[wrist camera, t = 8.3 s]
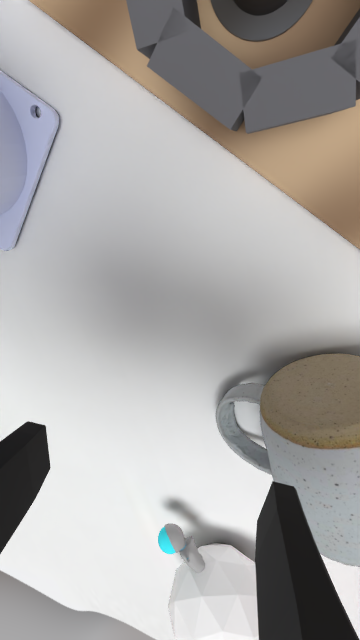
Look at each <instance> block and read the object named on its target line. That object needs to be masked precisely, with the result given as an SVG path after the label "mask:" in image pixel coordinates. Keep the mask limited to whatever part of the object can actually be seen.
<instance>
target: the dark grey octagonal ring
mask: <svg viewBox="0 0 360 640" xmlns="http://www.w3.org/2000/svg"><path fill="white" fill-rule="evenodd" d="M126 2H127V7H128V11H129V16H130V21H131V25H132V30H133V34H134V39H135V44H136V48H137V50H138V51H139V52H141V53H142V54H143V55H145V56H146V57H148V58H149V59H150V60H149V62H148V64H147V67H148V68H150V69H151V70H152V71H154V72H155V73H156V74H157V75H159V76H160V77H161V78H163V79H164V80H165V81H167V82H168V83H169V84H171V85H172V86H173V87H175V88H176V89H177V90H179V91H180V92H181V93H182V94H184V95H185V96H186V97H188V98H189V99H190V100H192V101H193V102H194V103H196V104H197V105H198V106H200V107H201V108H202V109H204V110H205V111H206V112H207V113H209V114H210V115H211V116H213V117H214V118H215V119H217V120H218V121H219V122H221V123H222V124H223V125H225V126H226V127H227V128H229V129H230V130H233V131H237V130H238V129H239V127H240V126H241V124H242V122H243V121H244V120H245V129H246V133H247V134H250V133H254V132H259V131H263V130H267V129H271V128H275V127H279V126H283V125H287V124H292V123H296V122H300V121H304V120H308V119H312V118H316V117H320V116H324V115H329V114H332V113H335V112H338V111H342V110H345V109H348V108H351V107H355V106H356V100H359V99H360V9H359V10H358V12H357V13H356V14H355V16H354V17H353V19H352V20H351V22H350V23H349V25H348V26H347V27H346V29H345V30H344V32H343V33H342V35H341V36H340V38H339V39H338V40H337V42H336V43H335V45H334V46H331V47H328V48H324V49H321V50H317V51H314V52H311V53H307V54H304V55H300V56H297V57H293V58H290V59H287V60H283V61H280V62H276V63H273V64H269V65H266V66H263V67H259V68H256V69H251V68H250V67H248V66H247V65H246V64H245V63H243V62H242V61H241V60H240V59H238V58H237V57H236V56H234V55H233V54H232V53H231V52H229V51H228V50H227V49H226V48H224V47H223V46H222V45H221V44H219V43H218V42H217V41H216V40H214V39H213V38H212V37H210V36H209V35H208V34H207V33H205V32H204V31H203V30H202V29H201V25H200V18H199V11H198V4H197V0H126Z"/></svg>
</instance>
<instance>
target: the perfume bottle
mask: <svg viewBox="0 0 360 640" xmlns="http://www.w3.org/2000/svg"><path fill="white" fill-rule="evenodd" d="M158 543H159V546H160V548H161V550H162V551H163V552H165V553H167V554H173V553H177V552H180V555H181V557H182V559H183V560H184V562H183V563H182V564H181V565H180V566H179V567H178V568H177V569H176V572H175V577H174V581H173V586H172V590H171V595H170V600H169V604H168V609H169V614H170V618H171V623H172V628H173V632H174V637H175V638H176V640H259V634H258V612H257V591H256V567H255V562H253V561H252V560H251V559H249V558H248V557H246V556H245V555H244V554H242V553H241V552H240V551H238V550H237V549H236V548H234V547H233V546H231V545H226V544H218V543H213V544H209V545H205V546H201V547H199V548H198V549H197V547H196V544H195V541H194V538H193V536H190V537H188V538H187V539H186V538H184V534H183V532H182V530H181V528H180V527H179V526H177V525H175V524H166V525H165V527H163V528H162V529H161V531H160V533H159V536H158Z"/></svg>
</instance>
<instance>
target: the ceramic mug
mask: <svg viewBox="0 0 360 640" xmlns="http://www.w3.org/2000/svg"><path fill="white" fill-rule="evenodd" d="M235 401H247V402H250V403H257V404H260V422H261V429H262V434H263V438H264V442H265V445H266V449H265V448H264V447H262V446H260V445H258V444H257V443H255V442H254V441H252V440H251V439H250V438H248V437H247V436H246V435H245V434H244V433H243V432H242V431H241V430H240V429H239V427H238V426H237V424H236V421H235V416H234V411H233V409H234V403H233V402H235ZM216 422H217V426H218V429H219V432H220V434H221V436H222V437H223V439H224V440H225V442H226V443H227V444H228V446H229V447H230V448H231V449H232V450H233V451H234V452H235V453H236V454H237V455H239V456H240V457H241V458H242V459H244V460H245V461H247V462H248V463H250V464H252V465H253V466H254V467H256V468H258V469H260V470H262V471H264V472H267V473H269V474H271V475H272V476H273V480H274V482H278V483H282V484H286V485H290V486H294V487H295V489H296V490H297V493H298V496H299V499H300V502H301V505H302V508H303V511H304V514H305V516H306V519H307V522H308V525H309V527H310V530H311V532H312V535H313V538H314V540H315V543H316V545H317V548H318V550H319V553H320V554H322V555H323V556H325V557H327V558H329V559H331V560H334V561H337V562H340V563H342V564H345V565H350V566H358V567H360V356H356V355H350V354H321V355H315V356H311V357H307V358H303V359H300V360H297V361H294V362H292V363H290V364H288V365H286V366H285V367H283V368H282V369H280V370H279V371H278V372H276V373H275V374H274V375H273V376H272V377H271V378H270V379H269V381H268V382H267V384H266V385H261V384H255V383H249V384H241V385H237V386H234V387H233V388H231V389H230V390H229V391H228V392H227V393H226V394H225V396H224V397H223V398H222V400H221V401H220V403H219V405H218V407H217V409H216Z"/></svg>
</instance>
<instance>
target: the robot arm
mask: <svg viewBox="0 0 360 640" xmlns="http://www.w3.org/2000/svg"><path fill="white" fill-rule="evenodd" d="M37 106H38V107H39V108H40V110H41V116H40V117H39V118H38V117H37V116H36V113H35V108H36V107H37ZM58 126H59V116H58V114H57V112H56V111H55V110H54V109H53V108H52V107H51V106H49V105H48V104H47V103H45V102H44V101H42V100H41V99H40V98H38V97H37V96H35V95H34V94H33V93H31V92H30V91H28V90H27V89H26V88H24V87H23V86H21V85H20V84H19V83H17V82H16V81H15V80H13V79H12V78H10V77H9V76H8V75H6V74H5V73H3V72H2V71H1V70H0V249H1V250H4V251H8V250H10V249H13V248H14V246H15V244H16V241H17V238H18V236H19V233H20V230H21V227H22V225H23V222H24V219H25V216H26V214H27V211H28V208H29V205H30V203H31V200H32V197H33V194H34V192H35V189H36V186H37V183H38V181H39V178H40V175H41V173H42V170H43V167H44V164H45V162H46V159H47V156H48V153H49V151H50V148H51V145H52V142H53V140H54V137H55V134H56V131H57V129H58ZM49 470H50V460H49V451H48V443H47V434H46V426H45V425H41V424H37V423H33V422H26V423H25V424H23V425H22V426H21V427H19V428H18V429H17V430H15V431H14V432H13V433H11V434H10V435H9V436H7V437H6V438H5V439H3V440H2V441H1V442H0V554H1V552H2V550H3V549H4V547H5V546H6V544H7V543H8V541H9V539H10V538H11V536H12V535H13V533H14V532H15V530H16V529H17V527H18V525H19V524H20V522H21V521H22V519H23V517H24V516H25V514H26V513H27V511H28V510H29V508H30V506H31V505H32V503H33V501H34V500H35V498H36V496H37V494H38V492H39V490H40V488H41V486H42V484H43V482H44V480H45V478H46V476H47V474H48V472H49ZM255 567H256V591H257V612H258V634H259V640H359V638H358V636H357V634H356V632H355V630H354V628H353V626H352V624H351V622H350V620H349V618H348V615H347V613H346V611H345V609H344V607H343V605H342V603H341V601H340V598H339V596H338V594H337V592H336V590H335V587H334V585H333V583H332V581H331V578H330V576H329V574H328V571H327V569H326V567H325V564H324V562H323V560H322V557H321V555H320V553H319V550H318V548H317V545H316V543H315V540H314V538H313V535H312V532H311V530H310V527H309V525H308V522H307V519H306V516H305V514H304V511H303V508H302V505H301V502H300V499H299V496H298V493H297V490H296V489H295V487H294V486H290V485H286V484H282V483H278V482H274V481H273V482H272V484H271V487H270V490H269V492H268V495H267V497H266V500H265V502H264V505H263V508H262V510H261V513H260V515H259V518H258V520H257V533H256V554H255Z"/></svg>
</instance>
